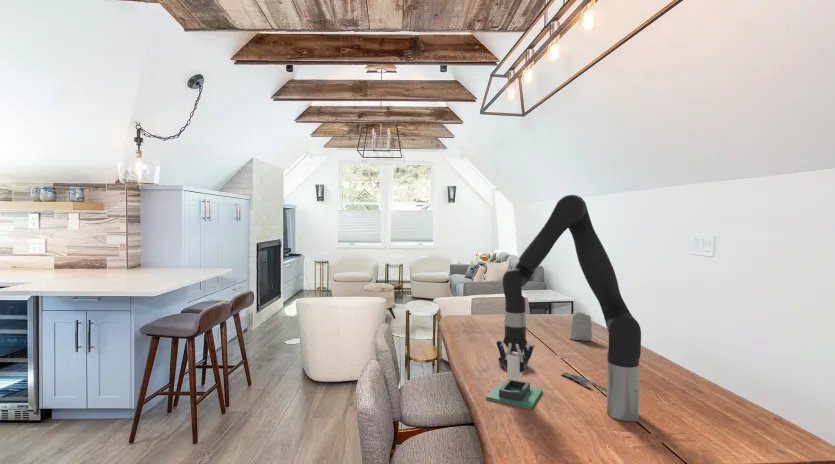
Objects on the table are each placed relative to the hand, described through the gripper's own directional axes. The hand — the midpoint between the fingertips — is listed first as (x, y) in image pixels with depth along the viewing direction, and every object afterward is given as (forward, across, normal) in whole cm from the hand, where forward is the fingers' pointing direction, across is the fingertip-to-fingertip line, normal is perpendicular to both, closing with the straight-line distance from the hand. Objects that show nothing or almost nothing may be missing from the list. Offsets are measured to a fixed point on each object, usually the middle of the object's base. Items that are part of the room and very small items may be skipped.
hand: (515, 370), depth 149 cm
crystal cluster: (+9, +9, -30) cm, 33 cm away
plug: (+2, 0, 0) cm, 2 cm away
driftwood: (+10, -20, -24) cm, 33 cm away
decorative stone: (+9, -11, -86) cm, 88 cm away
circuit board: (+9, 0, 0) cm, 9 cm away
